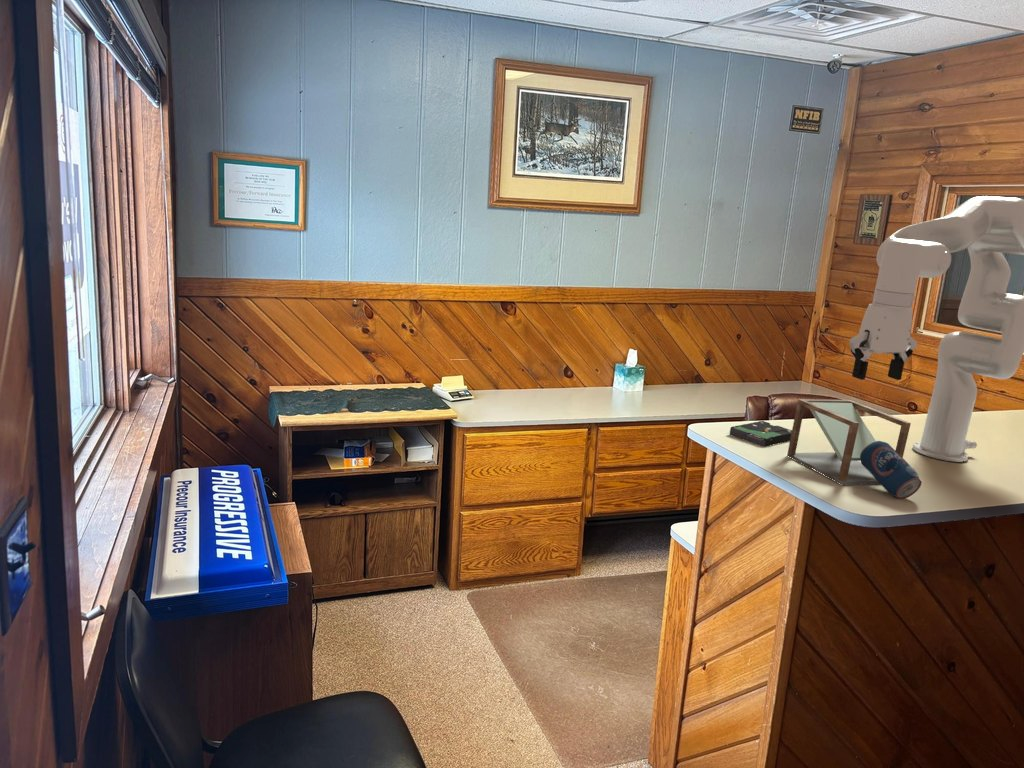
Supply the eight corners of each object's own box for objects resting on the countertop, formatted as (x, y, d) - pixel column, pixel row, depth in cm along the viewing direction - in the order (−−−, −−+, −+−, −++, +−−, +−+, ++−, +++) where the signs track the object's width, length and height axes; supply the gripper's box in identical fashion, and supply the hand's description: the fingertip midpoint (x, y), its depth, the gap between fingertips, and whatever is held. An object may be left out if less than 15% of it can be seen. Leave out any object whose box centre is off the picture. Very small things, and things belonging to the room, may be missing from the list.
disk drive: (759, 430, 202) (728, 436, 193) (761, 420, 202) (730, 426, 192) (795, 441, 195) (764, 448, 185) (797, 431, 194) (766, 437, 184)
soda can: (880, 433, 162) (920, 472, 153) (889, 447, 167) (927, 486, 158) (853, 453, 164) (890, 492, 155) (862, 466, 168) (899, 505, 159)
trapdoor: (807, 405, 176) (809, 402, 175) (849, 405, 179) (851, 402, 179) (840, 460, 165) (842, 458, 165) (883, 460, 169) (886, 457, 169)
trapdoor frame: (787, 456, 180) (798, 399, 176) (838, 455, 184) (850, 400, 181) (841, 485, 163) (854, 422, 160) (896, 483, 168) (910, 423, 164)
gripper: (910, 298, 166) (894, 374, 171) (847, 295, 161) (831, 373, 165) (938, 304, 160) (921, 383, 164) (873, 301, 154) (856, 382, 158)
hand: (876, 378), depth 165 cm, fingers open, 9 cm apart
